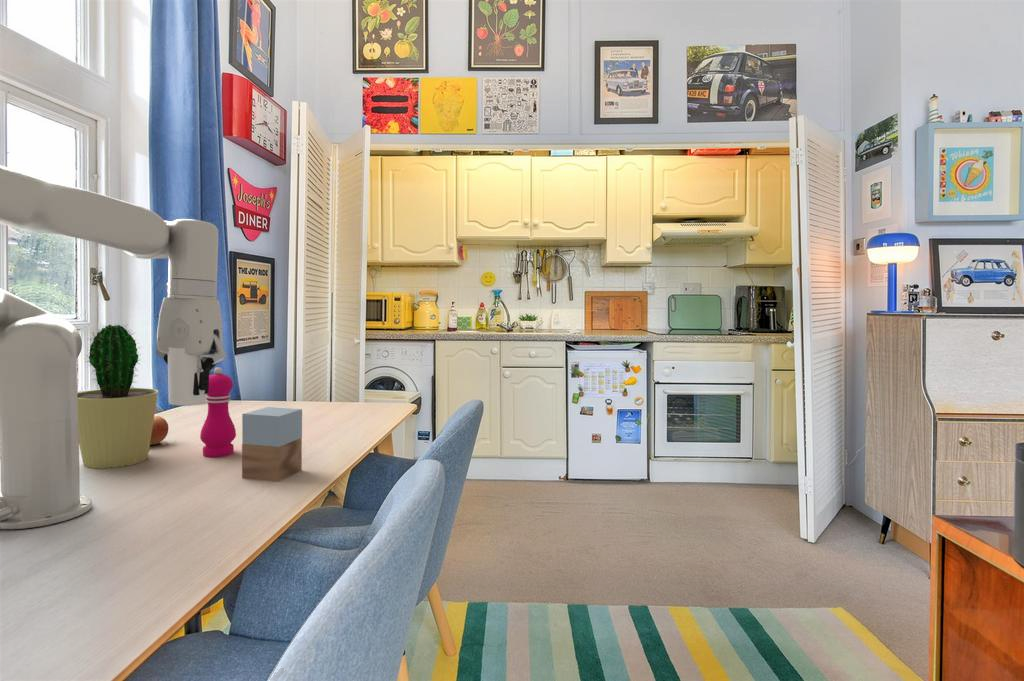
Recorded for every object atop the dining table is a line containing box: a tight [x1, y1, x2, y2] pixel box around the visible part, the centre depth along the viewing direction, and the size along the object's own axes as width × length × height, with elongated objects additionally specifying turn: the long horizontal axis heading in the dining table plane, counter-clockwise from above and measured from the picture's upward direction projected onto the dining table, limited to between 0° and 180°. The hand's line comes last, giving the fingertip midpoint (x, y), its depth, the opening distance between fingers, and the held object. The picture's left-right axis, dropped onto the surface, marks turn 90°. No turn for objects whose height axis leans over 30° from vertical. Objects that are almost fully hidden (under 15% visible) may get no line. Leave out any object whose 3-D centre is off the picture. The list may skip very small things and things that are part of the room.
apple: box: [150, 415, 169, 446], centre depth 132 cm, size 8×8×8 cm
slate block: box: [241, 406, 303, 447], centre depth 111 cm, size 8×8×6 cm
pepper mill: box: [199, 366, 237, 458], centre depth 125 cm, size 7×7×20 cm
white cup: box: [167, 347, 209, 406], centre depth 98 cm, size 7×7×10 cm
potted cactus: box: [78, 323, 159, 469], centre depth 117 cm, size 15×15×30 cm
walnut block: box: [241, 437, 303, 483], centre depth 112 cm, size 8×8×7 cm
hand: (190, 392), depth 98 cm, fingers closed on white cup, 3 cm apart
